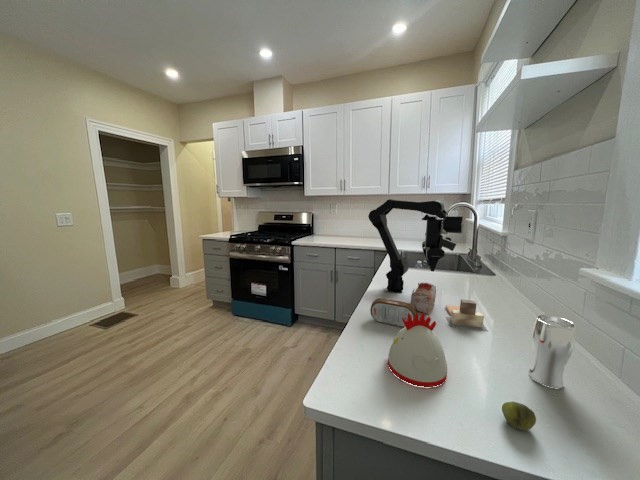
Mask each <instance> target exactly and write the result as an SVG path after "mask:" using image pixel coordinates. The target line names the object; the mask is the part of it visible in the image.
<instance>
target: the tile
mask: <svg viewBox="0 0 640 480" xmlns="http://www.w3.org/2000/svg"><path fill="white" fill-rule="evenodd" d="M445 310H446V311H447V312H448V314H449V316H451V311H452V310H460V305H450V304H449V305H447V304H446V305H445Z"/></svg>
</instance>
